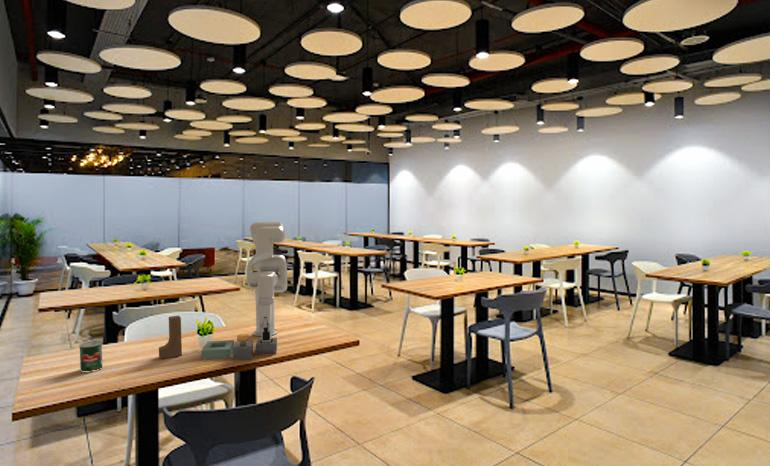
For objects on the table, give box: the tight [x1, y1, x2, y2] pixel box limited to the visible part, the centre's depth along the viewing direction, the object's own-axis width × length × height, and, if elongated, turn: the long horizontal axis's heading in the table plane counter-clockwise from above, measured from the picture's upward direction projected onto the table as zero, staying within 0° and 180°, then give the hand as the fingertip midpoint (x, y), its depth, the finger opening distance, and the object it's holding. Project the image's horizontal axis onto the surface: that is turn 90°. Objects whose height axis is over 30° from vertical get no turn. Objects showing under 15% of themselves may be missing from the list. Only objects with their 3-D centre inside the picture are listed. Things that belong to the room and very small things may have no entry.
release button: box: [236, 333, 250, 345], centre depth 208 cm, size 5×5×9 cm
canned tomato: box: [79, 340, 103, 371], centre depth 193 cm, size 8×8×11 cm
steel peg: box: [261, 325, 272, 343], centre depth 216 cm, size 4×4×12 cm
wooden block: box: [158, 315, 183, 360], centre depth 209 cm, size 9×4×18 cm, turn 125°
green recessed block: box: [201, 339, 235, 360], centre depth 213 cm, size 14×12×4 cm
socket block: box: [255, 337, 278, 356], centre depth 216 cm, size 9×9×5 cm
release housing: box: [232, 340, 254, 361], centre depth 209 cm, size 8×8×6 cm
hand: (266, 338), depth 216 cm, fingers open, 5 cm apart
